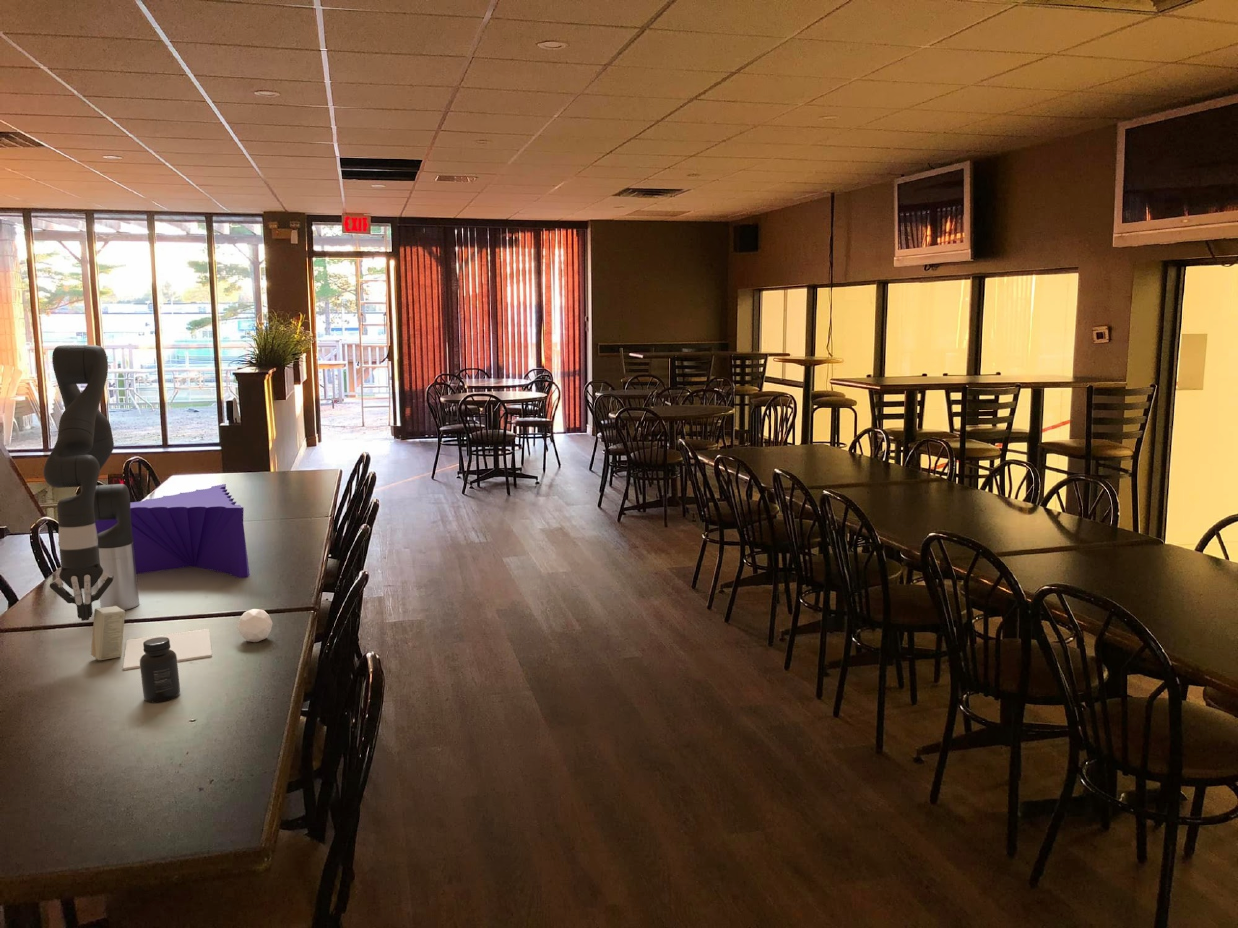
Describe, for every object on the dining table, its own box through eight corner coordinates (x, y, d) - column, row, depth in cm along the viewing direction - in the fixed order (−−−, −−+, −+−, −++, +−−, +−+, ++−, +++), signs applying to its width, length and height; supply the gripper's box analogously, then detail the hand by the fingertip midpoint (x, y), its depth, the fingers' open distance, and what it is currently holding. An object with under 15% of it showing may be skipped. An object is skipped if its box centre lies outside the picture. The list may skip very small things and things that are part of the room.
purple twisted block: (247, 578, 278) (241, 508, 274) (97, 579, 279) (90, 509, 275) (295, 545, 317) (291, 483, 313) (164, 546, 318) (158, 484, 314)
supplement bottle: (186, 689, 195) (181, 634, 193) (171, 702, 189) (166, 646, 187) (152, 690, 195) (147, 635, 193) (137, 703, 188) (131, 646, 186)
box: (113, 651, 217) (118, 605, 216) (121, 657, 214) (126, 610, 213) (89, 654, 213) (94, 607, 212) (97, 660, 210) (102, 613, 209)
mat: (127, 641, 224) (127, 639, 224) (209, 630, 232) (208, 628, 232) (123, 670, 206) (122, 667, 206) (211, 656, 214) (211, 654, 214)
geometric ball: (261, 647, 227) (278, 617, 230) (261, 646, 220) (278, 615, 222) (232, 635, 225) (248, 604, 228) (230, 633, 218) (247, 601, 221)
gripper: (113, 538, 214) (119, 611, 217) (46, 543, 209) (53, 618, 211) (111, 544, 207) (117, 620, 210) (41, 550, 202) (49, 628, 205)
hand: (85, 619), depth 211 cm, fingers closed
